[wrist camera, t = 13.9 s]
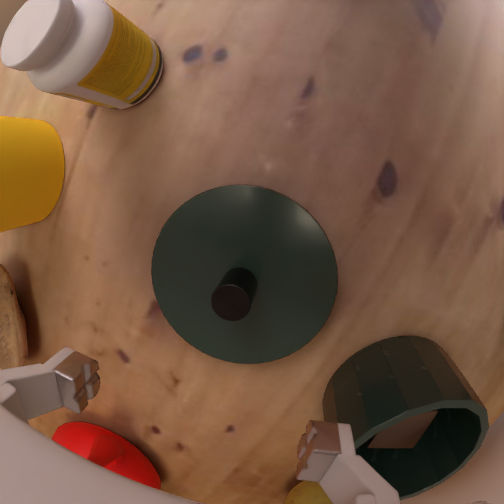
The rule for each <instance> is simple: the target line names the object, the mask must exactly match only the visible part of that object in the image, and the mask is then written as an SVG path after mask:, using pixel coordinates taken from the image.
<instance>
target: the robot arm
mask: <svg viewBox="0 0 504 504" xmlns="http://www.w3.org/2000/svg"><path fill="white" fill-rule="evenodd" d="M98 370H99V365H98V362H97V361H96V360H94V359H92V358H90V357H88V356H86V355H84V354H81V353H79V352H77V351H75V350H73V349H71V348H69V347H64V348H63V349H61V350H60V351H59V352H58V353H56V354H55V355H54V356H53V357H51V358H50V359H49V360H48V361H46V362H45V363H44V364H43V365H42V364H40V363H39V364H33V365H27V366H22V367H15V368H9V369H3V370H0V504H205V503H201V502H197V501H194V500H190V499H187V498H183V497H180V496H177V495H173V494H170V493H167V492H164V491H161V490H158V489H155V488H153V487H150V486H147V485H144V484H142V483H139V482H137V481H134V480H132V479H129V478H127V477H124V476H122V475H120V474H117V473H115V472H113V471H111V470H108V469H106V468H104V467H102V466H100V465H98V464H96V463H94V462H92V461H90V460H88V459H86V458H84V457H82V456H80V455H78V454H76V453H74V452H73V451H71V450H69V449H67V448H65V447H64V446H62V445H60V444H58V443H57V442H55V441H53V440H52V439H50V438H48V437H47V436H45V435H44V434H42V433H41V432H39V431H37V430H36V429H34V428H33V427H31V426H30V425H29V423H28V421H27V420H29V419H32V418H34V417H37V416H40V415H43V414H45V413H48V412H51V411H53V410H56V409H58V408H61V407H63V406H64V407H66V408H68V409H70V410H72V411H74V412H76V413H78V414H80V413H81V412H82V411H83V410H84V409H85V408H86V406H87V405H88V400H89V399H93V398H94V397H95V396H96V395H97V393H98V391H99V388H100V377H99V375H98V374H97V371H98ZM297 458H298V459H299V460H300V461H299V463H298V465H297V480H305V481H313V482H319V484H320V486H321V487H322V489H323V490H324V492H325V493H326V495H327V496H328V498H329V499H330V501H331V502H332V503H333V504H401V503H400V499H399V495H398V492H397V491H396V490H395V489H394V488H393V487H392V486H391V485H390V484H389V483H388V482H387V481H386V480H385V479H384V478H383V477H381V476H380V475H379V474H378V473H377V472H376V471H375V470H374V469H373V468H372V467H371V466H370V465H369V464H368V463H367V462H366V461H365V460H364V459H363V458H362V457H361V456H360V455H356V451H355V446H354V440H353V435H352V430H351V426H350V424H344V423H332V422H323V421H315V420H310V421H309V422H308V424H307V426H306V433H304V434H302V436H301V439H300V441H299V445H298V450H297ZM470 504H490V503H488V502H486V501H478V502H474V503H470Z"/></svg>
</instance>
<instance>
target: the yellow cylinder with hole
mask: <svg viewBox="0 0 504 504" xmlns="http://www.w3.org/2000/svg"><path fill="white" fill-rule="evenodd" d="M64 171H65V160H64V151H63V147H62V143H61V140H60V137H59V135H58V133H57V132H56V130H55V129H54V128H53V127H52V126H51V125H50V124H49V123H47V122H45V121H42V120H35V119H26V118H17V117H7V116H0V232H3V231H7V230H10V229H14V228H17V227H21V226H25V225H28V224H32V223H36V222H39V221H41V220H43V219H44V218H46V217H47V216H48V215H49V214H50V213H51V211H52V210H53V209H54V207H55V205H56V203H57V201H58V199H59V196H60V193H61V190H62V186H63V180H64Z"/></svg>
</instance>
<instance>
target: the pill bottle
mask: <svg viewBox="0 0 504 504" xmlns="http://www.w3.org/2000/svg"><path fill="white" fill-rule="evenodd" d="M1 60H2V62H3V64H4V65H5V66H7V67H10V68H13V69H16V70H19V71H27V74H28V77H29V79H30V81H31V83H32V84H33V85H34V86H35V87H36V88H37V89H39V90H41V91H43V92H47V93H50V94H55V95H59V96H63V97H68V98H71V99H76V100H80V101H84V102H88V103H92V104H95V105H99V106H102V107H106V108H110V109H125V108H129V107H131V106H134V105H136V104H137V103H139V102H140V101H142V100H143V99H144V98H146V97H147V96H148V95H149V94H150V93H151V91H152V90H153V89H154V87H155V86H156V84H157V83H158V81H159V78H160V76H161V73H162V69H163V56H162V52H161V50H160V48H159V46H158V45H157V43H156V42H155V41H154V40H152V39H151V38H150V37H149V36H148V35H146V34H145V33H144V32H143V31H142V30H140V29H139V28H138V27H137V26H136V25H134V24H133V23H132V22H130V21H129V20H128V19H127V18H125V17H124V16H123V15H122V14H120V13H119V12H118V11H116V10H115V9H114V8H112V7H111V6H110V5H109V4H107V3H106V2H104V1H103V0H28V1H27V2H26V3H25V4H24V5H23V6H22V7H21V8H20V10H19V11H18V12H17V13H16V15H15V16H14V18H13V19H12V21H11V23H10V25H9V26H8V28H7V30H6V33H5V35H4V38H3V42H2V45H1Z"/></svg>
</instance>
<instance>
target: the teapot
mask: <svg viewBox="0 0 504 504" xmlns="http://www.w3.org/2000/svg"><path fill="white" fill-rule="evenodd" d="M52 440H53V441H55V442H57V443H58V444H60V445H62V446H64V447H65V448H67V449H69V450H71V451H73V452H74V453H76V454H78V455H80V456H82V457H84V458H86V459H88V460H90V461H92V462H94V463H96V464H98V465H100V466H102V467H104V468H106V469H108V470H111V471H113V472H115V473H117V474H120V475H122V476H124V477H127V478H129V479H132V480H134V481H137V482H139V483H142V484H144V485H147V486H150V487H153V488H155V489H158V490H160V488H161V480H160V478H159V475H158V474H157V472H156V470H155V468H154V467H153V465H152V463H151V462H150V460H149V459H148V458H147V457H146V456H145V455H144V454H143V453H142V452H141V451H140V450H139V449H138V448H137V447H135V446H134V445H133V444H131V443H130V442H128V441H127V440H125V439H124V438H123V437H121V436H120V435H118V434H115V433H113V432H111V431H109V430H107V429H105V428H103V427H101V426H97V425H93V424H89V423H86V422H71V423H65V424H63V425H61V426H59V427H58V428H57V430H56V432H55V433H54V435H53V437H52Z"/></svg>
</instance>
